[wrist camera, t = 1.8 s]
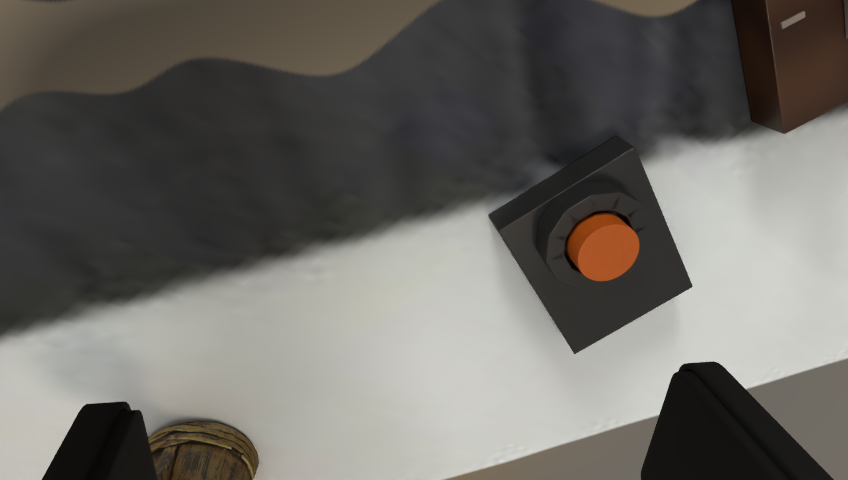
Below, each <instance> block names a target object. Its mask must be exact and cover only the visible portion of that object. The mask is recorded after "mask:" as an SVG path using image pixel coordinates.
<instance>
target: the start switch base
mask: <svg viewBox="0 0 848 480" xmlns="http://www.w3.org/2000/svg"><path fill="white" fill-rule="evenodd" d="M596 213H610V214H614V215H616V216H617V217H619V218H620V219H621V220H622V221H623V222H625V223H626V224H627V225H628V226H629V227H630V228H631V229H632V230H633V231H634V232H635V233H636V234H637V236H638V239H639V253H638V256H637V258H636V260H635V262H634V263H633V265H632V266H631V267H630V268H629V269H628V270H627V271H626V272H625V273H623V274H622V275H620V276H619V277H617V278H614V279H612V280H608V281H595V280H591V279H589V278H587V277H586V276H584V275H583V274H582V273H581V271H580V270H579V269H578V268H577V266H576V265H575V264H574V263H573V261H572V260H571V259H570V257H569V255H568V252H567V242H568V238H569V236H570V233H571V232H572V230H573V229H574V227H575V226H576V225H577V224H578V223H579V222H580V221H582V220H583V219H584V218H586V217H588V216H590V215H593V214H596ZM489 218H490V219H491V221H492V223H493V224H494V226H495V227H496V229H497V231H498V232H499V234H500V235H501V237H502V239H503V240H504V242H505V243H506V245H507V247H508V248H509V250H510V251H511V253H512V255H513V256H514V258H515V259H516V261H517V263H518V264H519V266H520V268H521V269H522V271H523V272H524V274H525V276H526V277H527V279H528V280H529V282H530V284H531V285H532V287H533V288H534V290H535V292H536V293H537V295H538V296H539V298H540V300H541V301H542V303H543V304H544V306H545V308H546V309H547V311H548V312H549V314H550V316H551V317H552V319H553V320H554V322H555V324H556V325H557V327H558V329H559V330H560V332H561V333H562V335H563V337H564V338H565V340H566V341H567V343H568V344H569V346H570V348H571V349H572V351H573V352H574V354H576V353H578V352H579V351H581V350H583V349H585V348H586V347H588V346H590V345H592V344H593V343H595V342H597V341H599V340H600V339H602V338H604V337H606V336H607V335H609V334H611V333H613V332H614V331H616V330H618V329H620V328H621V327H623V326H625V325H627V324H628V323H630V322H632V321H634V320H635V319H637V318H639V317H641V316H642V315H644V314H646V313H647V312H649V311H651V310H653V309H654V308H656V307H658V306H660V305H661V304H663V303H665V302H667V301H668V300H670V299H672V298H674V297H675V296H677V295H679V294H681V293H682V292H684V291H686V290H688V289H689V288H691V287H692V284H691V281H690V279H689V276H688V274H687V271H686V269H685V267H684V264H683V262H682V259H681V257H680V255H679V252H678V250H677V247H676V245H675V243H674V240H673V238H672V235H671V233H670V231H669V228H668V226H667V223H666V221H665V218H664V216H663V214H662V211H661V209H660V206H659V204H658V202H657V199H656V197H655V194H654V192H653V190H652V187H651V185H650V182H649V180H648V178H647V175H646V173H645V170H644V168H643V165H642V163H641V161H640V158H639V156H638V153H637V151H636V149H635V147H634V146H632V145H630V144H629V143H627V142H626V141H624V140H622V139H621V138H619V137H618V136H615V137H614V138H612V139H610V140H609V141H607V142H605V143H604V144H602V145H601V146H599V147H597V148H596V149H594V150H593V151H591V152H589V153H588V154H586V155H585V156H583V157H581V158H580V159H578V160H576V161H575V162H573V163H572V164H570V165H568V166H567V167H565V168H564V169H562V170H560V171H559V172H557V173H555V174H554V175H552V176H551V177H549V178H547V179H546V180H544V181H543V182H541V183H539V184H538V185H536V186H535V187H533V188H531V189H530V190H528V191H526V192H525V193H523V194H522V195H520V196H518V197H517V198H515V199H514V200H512V201H510V202H509V203H507V204H506V205H504V206H502V207H501V208H499V209H497V210H496V211H494V212H493V213H491V214H489Z"/></svg>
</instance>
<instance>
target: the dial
mask: <svg viewBox="0 0 848 480" xmlns="http://www.w3.org/2000/svg"><path fill="white" fill-rule="evenodd" d="M843 1H844V16H845V31H846V38H847V39H848V0H843Z"/></svg>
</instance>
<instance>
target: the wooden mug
mask: <svg viewBox="0 0 848 480" xmlns="http://www.w3.org/2000/svg"><path fill="white" fill-rule="evenodd" d="M148 441H149V445H150V449H151V453H152V457H153V461H154V465H155V470H156V474H157V478H158V480H253V479H254V476H255V473H256V470H257V467H258V464H259V462H258V456H257V452H256V450H255V449H254V447H253V445H252V443H251V442H250V441H249V440H248V439H247V438H246V437H244V436H243V435H242V434H240V433H239V432H238V431H236V430H235V429H234V428H231V427H228V426H225V425H222V424H219V423H212V422H188V423H183V424H179V425H175V426H169V427H167V428H164V429H162V430H160V431H158V432H157V433H155V434H153V435H152V436H150V437H149V438H148Z"/></svg>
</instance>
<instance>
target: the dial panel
mask: <svg viewBox="0 0 848 480" xmlns="http://www.w3.org/2000/svg"><path fill="white" fill-rule="evenodd" d="M732 5H733V11H734V17H735V23H736V28H737V34H738V40H739V46H740V52H741V58H742V64H743V70H744V75H745V81H746V87H747V93H748V99H749V105H750V111H751V116H752V121H753V122H755V123H757V124H760V125H763V126H765V127H768V128H770V129H773V130H775V131H778V132H780V133H783V134H785V133H787V132H789V131H791V130H793V129H795V128H797V127H799V126H801V125H803V124H805V123H807V122H809V121H811V120H813V119H815V118H817V117H819V116H821V115H823V114H824V113H826V112H828V111H830V110H832V109H834V108H836V107H838V106H840V105H842V104H844V103H846V102H848V39H847V38H846V31H845V16H844V1H843V0H732Z"/></svg>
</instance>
